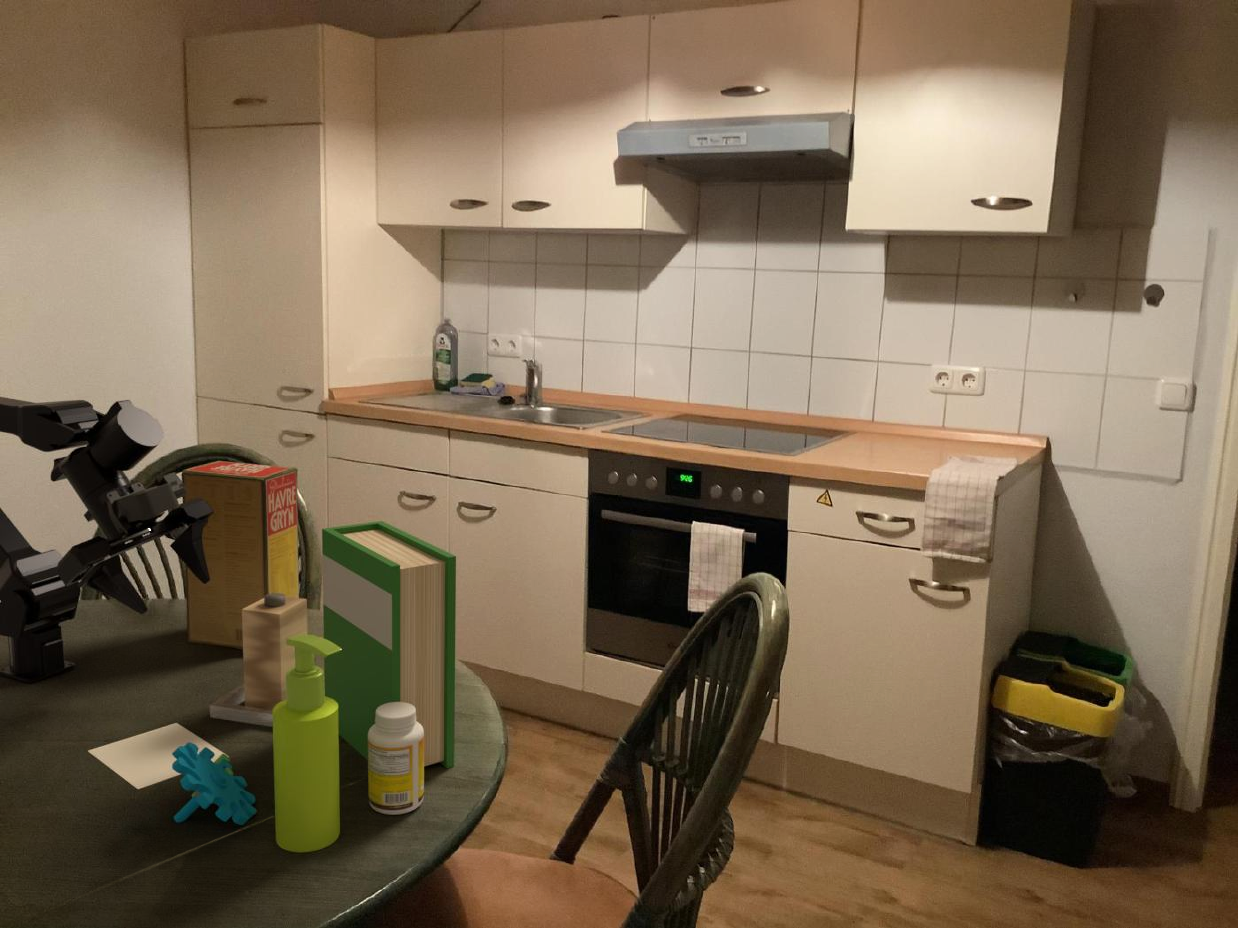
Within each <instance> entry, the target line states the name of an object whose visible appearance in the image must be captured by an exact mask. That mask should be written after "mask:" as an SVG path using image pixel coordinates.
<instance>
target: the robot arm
mask: <svg viewBox="0 0 1238 928" xmlns="http://www.w3.org/2000/svg"><path fill="white" fill-rule="evenodd" d="M0 433H7V434H11V435H14V436H16V437H18V438H19V439H20V442H22V444H24V445H27V446H28V447H31V448H33V449H36V450H38V451H41V452H44V453H50V452H56V451H62V450H67V449H69V450H70V449H73V450H72V451H71V452H70V453H69V454H68V455H67V456H63V457H57V458H55V459H53V467H52V470H51V472H50V476H49V477H50V480H51V482H53V483H54V482H59V481H61V480H67V481H68V482H69V485H71V487H72V488H73V491H75V493H76V495H77V496H78V497H79V499H80V501H81V502H82V503H83V505H84V507H85V509H87V511H86V512H85V513H84V514H83V516H84V518H85V519H86V521H87V522H88V523H89V522H91V521H95V523H96V524H97V526H98V527H99V529H100V530H101V532H102V534H103V535H104V536H105V537H102V536H100V535H98V536H95V537H93V538H90V539H88V540H85V541H83V542H80V543H78V544H75V545H72V546H71V548H70V549H68V551H67V552H66V553H65V554H64V555H63V554H62V553H61V552H60V551H58V550H57V549H50V550H47V551H44V552H41V551H39V550H36V549H35V548H33V547H32V545H31V544H30V543H29V541H28V540H27V539H26V537H24V536H23V534H22V533H21V531H20V530H19V529H18V528H17V526H16V525H15V524H14V523H13V522H12V520H11V519H10V518H9V517H8V515H7V514H6V513H5V512H4V510H3V508H2V507H0V636H3V637H7V645H8V658H9V659H8V661H9V665H8V666H5V667H3V668H0V675H1V676H4V677H8V678H11V679H14V680H18V681H20V682H25V683H27V684H31V683H36V682H39V681H41V680H43V679H46V678H49V677H53V676H55V675H57V674H60V673H64V672H66V671H69V670H71V669H73V668H75V667H76V665H75V664H76V663H75V662H71V661H68V660H65V648H64V638H63V631H62V626H61V625H60V623H64V622H67V621H71V620H74V619H75V616H76V613H77V609H78V604H79V601H80V597H81V591H82V590H81V589H82V588H84V587H88V588H91V589H93V590H95V591H97V592H100V593H101V594H103V595H107V596H108V597H110V598H112V599H114V600H115V601H117V602H119V603H121V604H122V605H124V606H125V607H128V608H130V609H131V610H133V611H134V612H137V613H139V614H140V615H145V614H146V613H147V612H148V607H147V605H146V603H145V601H144V599H143V598H142V597H141V595H140V593H139V592H138V591H137V589H136V587H135V586H134V585H133V583H132V582H131V580H130V579H129V577H128V576H127V574H126V573H125V572H124V570H123V566H122V565H123V564H122V562H121V561H122V560H121V556H120V555H121V554H123V553H126V552H128V551H130V550H133V549H135V548H137V547H141V546H142V545H145V544H147V543H150V542H152V541H154V540H156V539H159V538H162V537H165V538H166V539H170V540H172V543H171V544H170V545H169V547H170V548H171V549H172V550H173V551H174V552H175V554H176V555H177V556H178V557H179V558H180V560H181V561H182V562H183V563H184V565H185V564H186V565H187V567H188V568H189V569H190V570H191V571H192V573H193V574H194V575H195V576H196V577H197V578H198V579H199V580H200V581H201V582H202V583H203V584H206V583H208V582H209V581H210V576H209V572H208V567H207V563H206V559H205V554H204V550H203V542H202V533H203V528H204V527H205V526H206V525H207V524H208V522H209V521H208V518H209V517H210V516H211V515H212V514H213V513H214V511H213V510H212V508H211V507H210V505H209V504H208V502H207V501H206V500H204V499H201V498H198V497H197V498H194V499H192V500H189V501H187V502H184V503H183V502H182V503H180V504H179V501H178V499H181V498H183V496H185V495H186V489H185V487H184V484H183V482H182V479H181V478H180V477H179V476H178V474H177V473H176V471H175V472H174V471H173V472H170V473H167V474H165V475H161V476H158V477H157V478H156V479H155V484H156V485H155V486H152V487H149V488H145V487H144V485H143V484H142V483H141V482H139V480H135V481H132V482H131V480H130V479H129V477H128V475H126V473H125V472H127V471H130V470H132V469H134V468H135V467H136V466H137V465H138V464H139V463H140V462H141V461H143V460H144V459H145V458H146V457H147V455H149V454H150V453H151V452H153V450H154V449H156V447H158V445H160V444H161V443H162V441H163V440H164V436H165V435H164V433H165V432H164V429H163V426H162V424H161V423H160V421H159V420H158V418H154V416H153V415H151V414H150V413H149V412H148V411H147V410H144V409H142V408H140V407H137V406H135V405H134V404H133V402H132V400H131V399H125V400H118V401H115V402H114V403H113V404H112V405H111V406H110V408H109V409H108V411H107V412H106V413H103V412H101V411H97V410H95V409H94V405H93V404H92V403H91V402H90V401H88V400H84V399H76V400H73V399H72V400H61V401H60V400H58V401H56V400H55V401H47V402H32V401H27V400H21V399H16V398H10V397H5V396H0ZM74 448H75V449H74ZM169 510H170V511H169ZM166 511H169V512H168V514H166V516H164V515H165V513H166ZM163 516H164V518H162V519H161V520H158V519H159V518H161V517H163ZM157 520H158V521H157Z"/></svg>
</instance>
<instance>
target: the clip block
mask: <svg viewBox="0 0 1238 928" xmlns="http://www.w3.org/2000/svg"><path fill="white" fill-rule="evenodd" d="M242 629H243V649H242V653H243V654H242V655H243V657H242V658H243V683H244V691H245V700H244V706H247V707H253V708H260V709H267V710H273V708H274V707H275V706H276V705H277V704H278V703H280V702H281V701H284V700H286V673H287V671H288V670H290V669H292V668H293V667H295V647H294V646H290V645H286V639H287V638H290V637H293V636H296V635H299V634H302V633H303V634H308V599H307V598H301V597H299V598H294V597H286V596H285V595H284V594H281V593H272V594H267V595H265V596H264V598H263V599H261V600H259V601H257V602H255V603H253V604H251V605H250V606H248V607H246V608H244V609H242Z"/></svg>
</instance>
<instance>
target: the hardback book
mask: <svg viewBox="0 0 1238 928" xmlns="http://www.w3.org/2000/svg"><path fill="white" fill-rule="evenodd" d="M321 536H322V537H321V541H322V545H321V547H322V603H323V605H322V607H323V610H322V611H323V614H322V615H323V617H322V618H323V638H324V639H327V640H329V641H331V642H332V643H334V644H336V645H337V646H339V647H340V648H341V649H342V650H341V651H340V652H339V653H336V654H333V655H331V656H328V657H326V658H323V663H324V664H323V666H324V667H323V671H324V681H325V696H326V697H329V698H332V699H334V700H335V701H336V702H337V703H338V726H339V736H340V737H341V738H342V739H344V740H345V742H347V743H348V744H349V745H350V746H351V747H352V748H354V750H355V751H357V752H358V753H359V754H360V756H362V757H364V758H365V760H366V761H368V732H369V729H370V728H371V727H372V726H373V725H374V724H376V723H375V717H376V709H377V708H378V707H379V706H381V705H383V704H386V703H391V702H405V703H409V704H411V705H413V706H414V707H415V709H416V721H417V722H418V723H420V724H421V725H422V727H423V730H424V767H427V766H430V765H434V764H437V763H439V764H440V765H442V766H443V767H444V768H445V769H449V768H453V767H455V726H456V725H455V719H456V717H455V715H456V714H455V713H456V712H455V711H456V707H455V706H456V705H455V703H456V697H455V696H456V618H457V617H456V611H457V610H456V607H457V605H456V604H457V601H456V597H457V594H456V593H457V592H456V591H457V589H456V588H457V587H456V586H457V581H456V580H457V556H456V555H454V554H452V553H451V552H448V551H446V550H444V549H442V548H440V547H438V546H435V545H433V544H431V543H429V542H427V541H425V540H423V539H420V538H418V537H417V536H415V535H412V534H410V533H409V532H406V531H403V530H401V528H400V529H399V528H397V527H395V526H394V525H391V524H389V523H387V522H385V521H382V520H378V521H370V522H364V523H358V524H350V525H349V524H348V525H341V526H340V525H339V526H334V527H333V526H332V527H324V528H321Z"/></svg>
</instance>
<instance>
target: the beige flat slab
mask: <svg viewBox="0 0 1238 928" xmlns="http://www.w3.org/2000/svg"><path fill="white" fill-rule="evenodd" d="M188 742H190V743H193V744H195V745H197V747H198V749H199V750H198V752H197V753H198V755H199V753H200V752H201V751H202V750H203V749H204V748H205V747H207V748H208V749H210V750H211V751H212V752H213V753H214V754H215V756H214V757H213V758H212V759H211V760H212V761H213V762H215V761H216V760H217V759H218V758H219V757H220V756H221V755H222V754H225V755H227V754H226V753H224V752H223V751H221V750H220V749H218V748H217V747H215V746H213V745H212V744H210V743H209V742H207V741H206V740H204V739H203V738H201V737H199V735H197V734H195V733H193V732H192V731H190V730H189V729H187V728H185V727H184V726H183V725H180V724H179V723H178V722H174V723H172V724H168V725H166V726H162V727H160V728H155V729H153V730H150V731H146V732H144V733H140V734H137V735H133V736H131V737H130V736H129V737H127V738H124V739H120V740H118V741H114V742H110V743H108V744H105V745H102V746H99V747H94V748H93V749H89V750H87V752H88V753H89V754H90V755H92V756H93V757H95V758H96V759H97V760H98V761H100V762H101V763H102V764H104V765H105V766H106V767H107V768H109V769H110V770H112V771H113V772H115V773H116V774H117V775H118V776H120V777H121V778H123V780H125V781H126V782H128V783H129V784H130V785H131V786H132V787H134V788H135V789H136V790H140V789H143V788H146V787H149V786H152V785H155V784H157V783H160V782H164V781H166V780H169V779H172V778H175V777H178V776H180V775H181V774H180V773H178V772H176V771H174V770H173V769H172V764H173V763H174V762H175V761H176V760H177V759H176V758H175V757H174V756H173V755H172V753H173V752H174V751H175V750H176V749H177V748H178V747H180V746H185V745H186V744H187V743H188ZM227 756H228V757H229V758H230V756H229V755H227Z"/></svg>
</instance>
